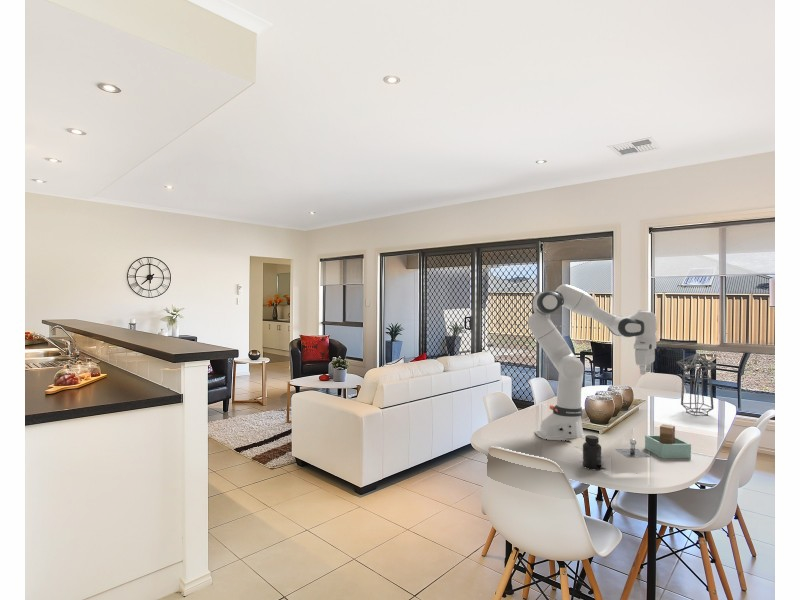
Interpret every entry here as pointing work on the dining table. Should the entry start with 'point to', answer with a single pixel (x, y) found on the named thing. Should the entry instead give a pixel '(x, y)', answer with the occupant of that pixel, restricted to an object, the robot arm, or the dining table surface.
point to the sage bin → (668, 447)
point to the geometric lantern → (698, 382)
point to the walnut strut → (667, 434)
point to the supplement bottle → (592, 453)
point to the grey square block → (632, 451)
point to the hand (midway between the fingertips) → (645, 373)
